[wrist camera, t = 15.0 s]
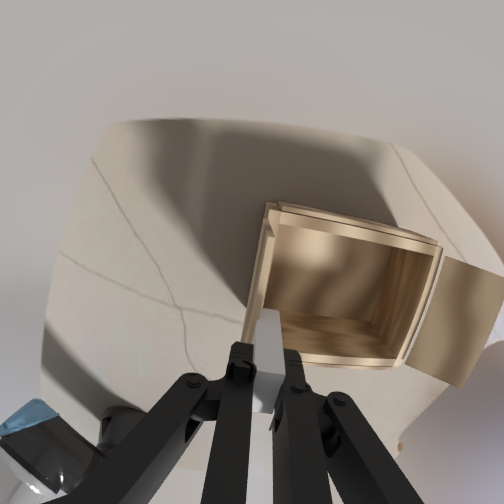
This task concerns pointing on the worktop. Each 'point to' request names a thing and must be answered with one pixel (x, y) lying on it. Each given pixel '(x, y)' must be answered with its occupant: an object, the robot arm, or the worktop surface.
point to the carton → (347, 286)
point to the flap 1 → (258, 280)
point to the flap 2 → (457, 322)
